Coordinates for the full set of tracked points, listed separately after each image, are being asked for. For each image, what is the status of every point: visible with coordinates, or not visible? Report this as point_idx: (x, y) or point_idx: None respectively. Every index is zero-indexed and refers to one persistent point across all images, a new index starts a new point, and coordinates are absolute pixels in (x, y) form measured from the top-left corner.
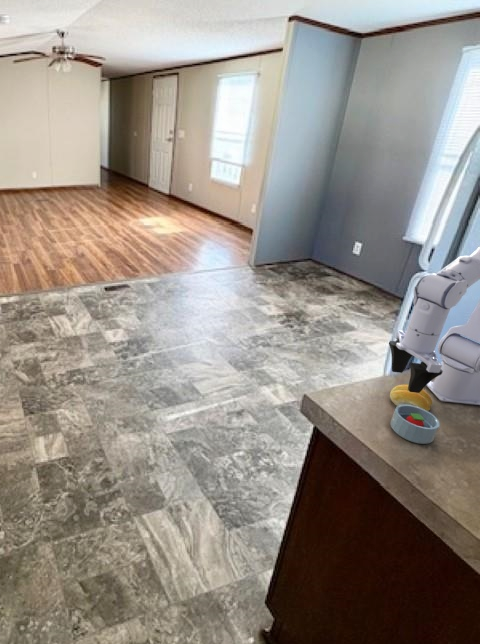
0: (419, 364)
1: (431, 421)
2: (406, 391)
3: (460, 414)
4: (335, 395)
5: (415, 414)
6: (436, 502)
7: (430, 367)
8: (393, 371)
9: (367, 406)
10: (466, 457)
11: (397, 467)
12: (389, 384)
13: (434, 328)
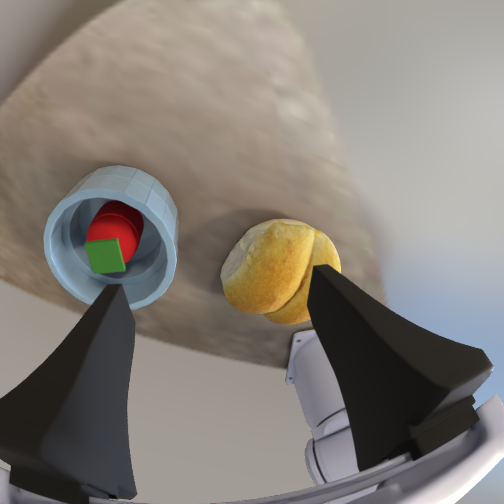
0: (63, 480)
1: (130, 291)
2: (287, 276)
3: (248, 349)
4: (292, 29)
5: (113, 256)
6: None
7: None
8: (313, 269)
9: (238, 122)
10: (79, 308)
11: None
12: (366, 245)
13: None
